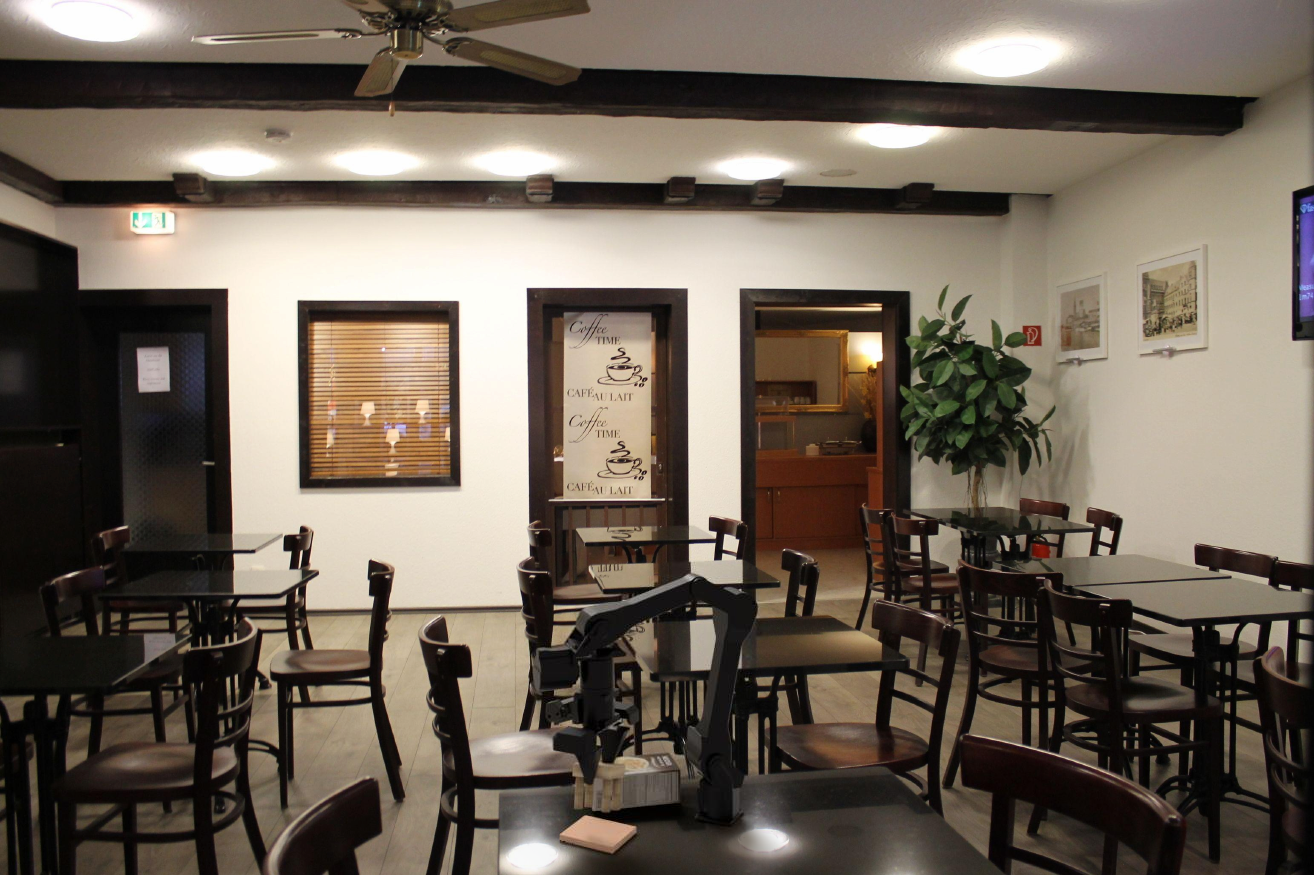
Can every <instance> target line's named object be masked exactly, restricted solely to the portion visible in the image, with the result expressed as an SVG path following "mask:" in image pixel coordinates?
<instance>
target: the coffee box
mask: <svg viewBox="0 0 1314 875" xmlns="http://www.w3.org/2000/svg"><path fill="white" fill-rule="evenodd" d="M599 762H601V763H602V758H600V760H599ZM614 764H625V777H623V778H621V797H620V809H627V808H629V809H630V808H637V807H648V806H650V807H651V806H657V805H658V806H659V805H671V804H677V803H678V804H680V803H681V791H682V789H681V788H682V780H681V778H682V774H681V768H680V767H679V765H678V764H677V762H676V761H675V760H674V758H673V756H672V754H671V753H670V752H660V753H651V754H635V755H628V756H627V755H626V756H617V757H616V760H615V762H614ZM612 786H613V779H612V782H611V804H610V810H611V807H612ZM602 789H603V779H599V778H595V779H594V793H593V807H591V810H592V812H596V811H601V810H602Z"/></svg>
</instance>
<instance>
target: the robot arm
mask: <svg viewBox="0 0 1314 875" xmlns="http://www.w3.org/2000/svg"><path fill="white" fill-rule="evenodd" d="M695 601H700V602H703V603H705V604H707V605H709V606H711V607H712V622H713V623H712V624H713V629H714V634H715V641H714V648H713V653H712V659H711V663H710V669H709V670H710V671H709V675H708V682H707V687H706V693H705V699H704V703H703V709H702V714H701V718H700V719H699V721H698V723H697V724H696V725H695V726H692V725H688V726H687V731H686V732H687V737H686V741H685V743H684V746H683V749H684V750H686V758H687V760H688V761H689V763H690V765H692V766H693V767H694V768H695V769H696V772H697V774H698V775H700V776H701V778H700V779H699V786H698V787H697V788H696V809H697V811H698V812H697V813H696V815H695V819H696V820H698V821H699V820H700V821H705V822H708V823H714V824H718V825H723V826H726V827H727V826H731V825H732V824H733V823H734V822H735V821H736V820H737V819H738V818H739V817H740V816H741V815H742V814H743V812H744V811H743V810H744V809H743V808H742V807H740V789H741V788H742V786H743V784H744V780H745V774H744V773H743V772H741V771H740V770H739V769H738V768H737V767H736V766H735V765H734V764H732V750H733V746H732V741H731V734H730V730H729V722H730V717H731V710H732V706H733V699H734V694H735V689H736V688H735V687H736V683H737V676H738V672H739V671H738V670H739V665H740V659H741V654H742V649H743V645H744V642H745V640H746V639H747V638H748V637H749V635H750V634H751V632H752V631H753V629H754V628H753V627H754V625H755V622H756V619H757V616H758V614H759V613H758V612H759V604H758V602H757V601H756V599H755V597H754V596H753V595H751V594H750V593H747V592H745V591H743V590H740V589H738V588H736V587H732V586H726V587H722V586H720V585H717V584H716V583H713V582H711V581H709V580H708V578H706V577H705V576H703V575H701V574H697V573H694V572H691V573H687V574H686V575H685V576H683V577H681V578H679V579H676V580H674V581H671V582H668V583H666V584H663V585H661V586H660V585H659V586H658V587H656V588H653V589H651V590H649V591H646V592H644V593H641V594H638V595H635V596H634V597H631V598H628V599H624V600H621V601H612V602H602V603H599V604H593V605H589V606H586V607H584V608H582V609H581V610H580V611H579V612H578V615H577V618H576V621H575V626H574V628H573V629H572V631H571V632H570V634H569V635H568V637H567V638H566V639H565V641H564V643H563V646H559V647H558V646H557V647H556V646H555V647H537V648H536V649H535V654H536V655H535V656H534V661H533V664H532V676H533V677H532V679H533V684H534V689H535V691H536V692H537V693H540V692H546V691H547V692H548V691H557V690H566V689H567V690H568V689H572V688H573V686H574V685H577V682H578V681H579V690H576V691H575V692H574V693H573V697H569V698H565V699H562V700H561V699H556V700H551V701H550V702H547V703H546V707H545V718H546V719H547V721H548V722H549V723H553V725H554V726H559V725H560V724H561V723H565V722H566V723H567V722H570V721H571V724H572V725H577V726H579V725H581V726H582V727H576V726H570V725H568V726H565V728H563V729H561V730H559V731H557V732H556V733H555V734H554V735H553V736H552V751H555V752H561V753H565V754H570V755H574V756H575V759H576V761H577V763H579V765H580V768H581V771H582V774H583V777H584V783H585V785H586V784H587V785H592V784H593V782H594V779H595V776H596V772H597V768H598V764H599V760H600V759H602V763H613V764H614V762H615V760H616V757H618V755H619V752H620V750H621V749H622V746H623V744H624V742H625V740H626V738H627V736H628V734H629V732H630V731H631V727H629V726H634V724H636V723H637V722H639V721H640V710H639V708H638V707H637V706H636V704H634V703H628V702H622V701H616V700H615V699H616V697H618V696H620V688H616V687H615V658H623V657H624V658H625V657H626V656H627V652H626V651H625V650H624V649H622V648H621V646H620V645H619V643H618V642H617V641H618V640H619V639H621V638H623V637H624V636H625V635H626V634H627V633H628V632H630V630H631V629H632V628H634V627H636V626H637V625H639V624H641V623H644V622H646V621H649V620H651V619H653V618H656V617H658V616H661V615H663V614H665V613H668V612H670V611H673V610H676V609H677V608H680V607H682V606H685V605H687V604H690V603H692V602H695ZM622 719H624V720H626V722H627V725H629V726H625V725H624V722H623V721H622ZM598 738H599V743H600V745H599V744H597V743H598V740H597V739H598Z"/></svg>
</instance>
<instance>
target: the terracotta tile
mask: <svg viewBox="0 0 1314 875" xmlns="http://www.w3.org/2000/svg"><path fill="white" fill-rule="evenodd" d="M636 834H637V826H634V825H630V824H625V823H620V822H617V821H612V820H607V819H603V818H599V817H595V816H591V815H590V816H589V815H583V816H582V817H581V818H580V819H579V820H577V821H575V822H574V823H573V824H571V825H570V826H568V828H567V829H565V830H563V831H562V832H561V833H560V834H559V841H560V840H561V841H560V842H563V841H565V842H564V843H568V844H572V843H573V844H572V845H576V846H579V847H580V846H581V847H585V848H589V849H592V850H597V851H600V852H605V853H610V854H614V853H615V852H616V851H617V850H618V849H620V848H621V847H622V846H623V845H624V844H625V843H626V842H628V840H630V839H631V838H632V837H633V836H635V835H636Z"/></svg>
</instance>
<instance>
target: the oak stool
mask: <svg viewBox="0 0 1314 875" xmlns="http://www.w3.org/2000/svg"><path fill="white" fill-rule="evenodd" d="M572 777H575V783H574V784H575V786H574V802H573V804H574V805H573V809H574V810H583V809H584V808H592V807H593V793H594V782H593V784H592V785H587V784H586V783H585V780H584V777H583V774H582V771H581V768H580V765H579V763H578V762H573V764H572ZM623 777H625V764H613V763H601V762H599V764H598V768H597V772H596V776H595V778H599V779H603V789H602V810H600V811H601V813H611V811H620V810H621V808H620V797H621V778H623ZM612 779H613V786H612V807H611V809H610V804H611V782H612ZM583 807H584V808H583Z"/></svg>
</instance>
